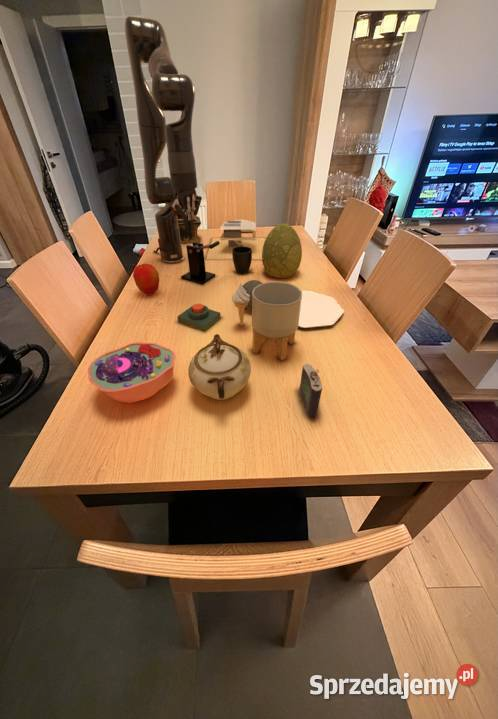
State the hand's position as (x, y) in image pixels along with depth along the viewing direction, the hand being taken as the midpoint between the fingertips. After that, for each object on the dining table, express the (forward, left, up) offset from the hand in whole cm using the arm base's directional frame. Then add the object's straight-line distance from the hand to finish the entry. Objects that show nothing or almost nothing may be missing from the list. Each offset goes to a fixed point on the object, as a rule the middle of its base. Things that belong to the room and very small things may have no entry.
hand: (189, 231), depth 98 cm
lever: (-5, +13, -11) cm, 18 cm away
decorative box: (-44, +45, -24) cm, 67 cm away
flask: (+56, -30, -24) cm, 68 cm away
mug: (+3, +29, -24) cm, 38 cm away
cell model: (+17, -46, -24) cm, 54 cm away
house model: (-12, +51, -24) cm, 58 cm away
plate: (+40, +10, -24) cm, 47 cm away
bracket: (-9, +13, -24) cm, 29 cm away
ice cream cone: (+25, -9, -24) cm, 35 cm away
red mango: (-17, -7, -24) cm, 30 cm away
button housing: (+11, -13, -24) cm, 29 cm away
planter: (+39, -14, -24) cm, 47 cm away
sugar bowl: (+35, -36, -24) cm, 55 cm away
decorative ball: (+23, +3, -24) cm, 33 cm away
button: (+11, -13, -20) cm, 26 cm away
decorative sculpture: (+19, +34, -24) cm, 45 cm away
